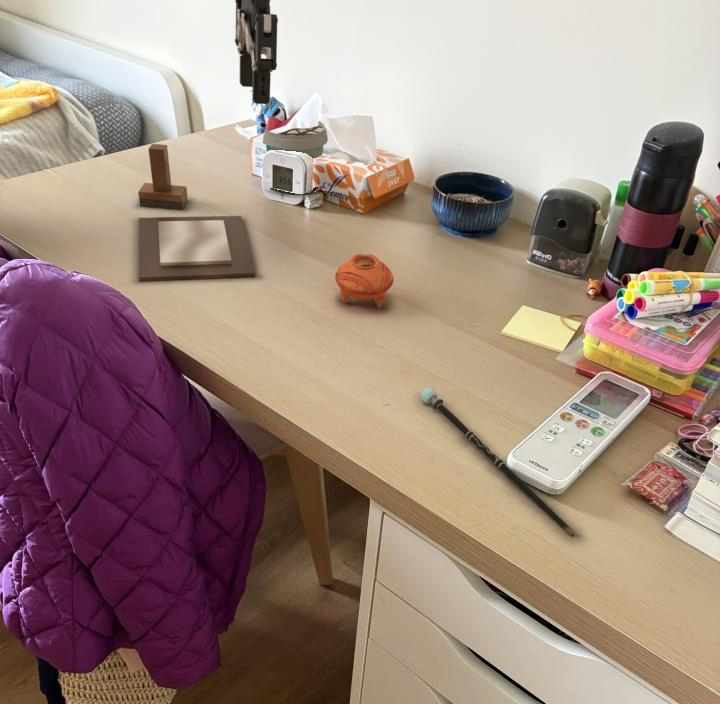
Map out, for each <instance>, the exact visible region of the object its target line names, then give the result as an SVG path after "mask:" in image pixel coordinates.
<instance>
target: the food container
mask: <svg viewBox="0 0 720 704" xmlns="http://www.w3.org/2000/svg"><path fill="white" fill-rule="evenodd" d="M328 138H329V137H328V131H327V129H326V125H325V124H324V123H323V122H322V121H321V120H318V121H317V126H312V127H307V128H306V127H305V128H301V127H297V128H296V127H294V128H290V129H287V130H284V131H282V132H279V133H276V132H272V131H269V130H267V129H265V130H264V133H263V137H262V144H264V145H265V147H266V149H265V150H266V152H267V151H269V150H285V151H296V152H302V153H306V154H308V155H309V156H311V157H312V158H317V157H319V156H321V155H322V156H323V154H324V153H323V151H324V146H325V145H326V144H328V142H329V139H328ZM270 190H272V191H274V192H275V193H280V194H284V195H293V196H300V194H295V193H290V192H285V191H282V190H277V189H274V188H270ZM317 190H319V187H315V188H313V190H312V191H311V192H310V193H308V194H312V193H314V192H316V191H317ZM308 194H307V195H308Z"/></svg>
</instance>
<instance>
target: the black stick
mask: <svg viewBox="0 0 720 704" xmlns="http://www.w3.org/2000/svg"><path fill="white" fill-rule="evenodd" d="M420 396H421V400H422V401H423V403H425V404H428V405H432V409H433V410H434V411H435V410H438V411H439V412H440V413H442V415H443V416H444V417H445V418H446V419H447V420H448V421H449V422H450V423H451V424H453V426H454V427H456V428H457V429H458V431H460V432H461V433H462V434H463V435H464V436H465V437H466V439H468V440H469V441H470V442H471V443H473V444H474V445H475V446H476V448H477V449H478V450H480V451H482V452H483V453H484V455H485V456H486V457H487V458H488V459H490V460H491V462H492V463H493V464H494V466H495V467H496V468H497V469H498V470H501V471H502V472H503V473H504V474H505V475H506V476H507V477H508V478H510V480H511V481H513V483H515V484H516V485H517V486H518V487H519V488H520V489H521V490H522V491H523V492H524V493H525V494H526V495H527V496H528V497H530V499H531V500H532V501H534V502H535V503H536V504H537V506H539V507H540V508H541V510H543V511H544V512H545V513H546V514H547V515H548V516H549V517H550V518H551V519H552V520H554V522H556V523H557V525H559V526H560V528H562V529H563V530H564V531H565V532H567V534H568V535H570V536H572V537H574V536H575V534H576V533H575V531H574V530H573V529H572V528H571V527H570V526H569V525H568V524H567V523H566V522H565V521H564V520H563V519H562V518H561V517H560V516H559V515H558V514H557V513H556V512H555V511H553V509H552V508H551V507H549V506H548V504H546V503H545V501H543V500H542V499H541V498H540V497H539V496H538V495H537V494H536V493H535V492H534V491H533V490H532V489H531V488H530V487H529V486H528V485H527V484H526V483H525V482H524V481H522V479H520V477H518V475H516V473H515V472H513V471H512V469H510V468H509V467H508V466H507V465H506V463H505V462H504V461H503V460H502V458H500V457H498V455H497V454H496V453H494V452H492V451H491V449H490V448H489V447H488V446H486V445H485V444H484V443H483V441H481V439H480V438H478V436H477V435H476V434H475V433H474V432H473V431H472V430H469V428H468V427H467V426H466V425H465V424H464V423H463V422H462V421H461V420H460V419H459V418H458V417H457V416H456V415H455V414H454V413H452V411H450V410H449V408H447V407H446V406H445V405H444V400H443V399H442V398H438V394H437V392H436V390H435V389H433V388H431V387H427V388H424V389H423V390H422V391H421V395H420Z"/></svg>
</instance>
